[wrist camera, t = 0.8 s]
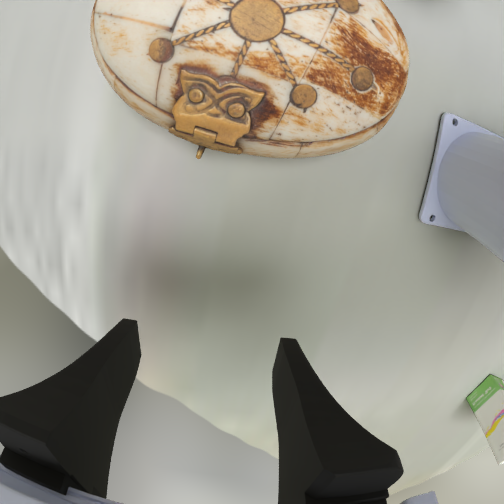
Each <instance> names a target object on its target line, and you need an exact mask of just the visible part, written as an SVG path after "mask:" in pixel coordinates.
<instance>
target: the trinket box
mask: <svg viewBox="0 0 504 504" xmlns="http://www.w3.org/2000/svg"><path fill="white" fill-rule="evenodd" d="M91 42H92V46H93V50H94V54H95V57H96V60H97V62H98V65H99V67H100V69H101V71H102V73H103V75H104V76H105V78H106V80H107V81H108V83H109V84H110V85H111V87H112V88H113V89H114V91H115V92H116V93H117V94H118V95H119V96H120V97H121V98H122V99H123V100H124V101H125V102H126V103H127V104H128V105H129V106H130V107H131V108H133V109H134V110H135V111H136V112H138V113H139V114H141V115H142V116H144V117H145V118H147V119H148V120H150V121H152V122H154V123H156V124H157V125H159V126H161V127H164V128H166V129H168V130H169V132H170V133H173V134H174V135H175V136H177V137H180V138H182V139H185V140H187V141H190V142H192V143H194V144H196V145H199V148H198V151H197V155H196V158H197V159H200V158H201V156H202V154H203V152H204V150H205V148H209V149H212V150H218V151H222V152H226V153H234V154H241V153H244V154H249V155H255V156H263V157H272V158H306V157H316V156H323V155H329V154H334V153H337V152H341V151H344V150H347V149H350V148H352V147H355V146H357V145H359V144H362V143H363V142H365V141H367V140H369V139H370V138H372V137H373V136H374V135H376V134H377V133H378V132H379V131H380V130H381V129H382V128H383V127H384V126H385V124H386V123H387V122H388V120H389V119H390V117H391V116H392V114H393V113H394V111H395V109H396V107H397V105H398V103H399V101H400V99H401V97H402V95H403V93H404V90H405V87H406V84H407V79H408V69H409V63H410V61H409V50H408V45H407V42H406V38H405V36H404V34H403V32H402V29H401V28H400V26H399V24H398V23H397V21H396V19H395V18H394V16H393V15H392V13H391V12H390V10H389V9H388V7H387V6H386V5H385V4H384V2H383V1H382V0H96V1H95V4H94V7H93V11H92V16H91Z"/></svg>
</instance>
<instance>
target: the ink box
mask: <svg viewBox="0 0 504 504" xmlns="http://www.w3.org/2000/svg"><path fill="white" fill-rule="evenodd" d="M466 399H467V401H468V403H469V404H470V406H471V408H472V410H473V412H474V414H475V416H476V418H477V420H478V422H479V424H480V426H481V428H482V430H483V432H484V434H485V436H486V438H487V440H488V442H489V444H490V447H491V449H492V451H493V453H494V456H495V458H496V460H497V462H498V465H500V464H504V380H502V379H499V378H497V377H495V376H493V375H489V376H488V377H487V378H486V379H485V380H484V381H483V382H482V383H481V384H480V385H479V386H478V387H477V388H476V389H475V390H474V391H473V392H472V393H471V394H470V395H469V396H468V397H467V398H466Z"/></svg>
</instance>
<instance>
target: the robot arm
mask: <svg viewBox="0 0 504 504" xmlns="http://www.w3.org/2000/svg"><path fill="white" fill-rule="evenodd" d="M453 119H454V120H455V124H454V125H453V123H452V121H453ZM431 215H433V217H432V219H430V216H431ZM419 219H420V220H421V221H422V222H423V223H425V224H430V225H435V226H440V227H445V228H449V229H454V230H459V231H463V232H467V233H468V234H470V235H471V236H472V237H473V238H475V239H476V240H477V241H479V242H480V243H481V244H482V245H484V246H485V247H486V248H487V249H489V250H490V251H491V252H492V253H494V254H495V255H496V256H497V257H498V258H500V259H501V260H502V261H503V262H504V138H503V137H501V136H499V135H497V134H495V133H493V132H491V131H489V130H487V129H485V128H483V127H481V126H478V125H476V124H474V123H472V122H470V121H468V120H465V119H463V118H461V117H459V116H456V115H454V114H451V113H444V114H443V115H442V117H441V123H440V129H439V134H438V139H437V144H436V149H435V154H434V158H433V163H432V167H431V171H430V176H429V180H428V184H427V188H426V192H425V195H424V199H423V203H422V206H421V210H420V213H419ZM429 219H430V220H429ZM140 358H141V349H140V342H139V334H138V325H137V321H136V320H130V319H122V320H121V321H120V322H119V323H118V324H117V325H116V326H115V327H114V328H113V329H111V330H110V331H109V332H108V333H107V334H106V335H105V336H104V337H103V338H102V339H101V340H100V341H98V342H97V343H96V344H95V345H94V346H93V347H92V348H91V349H89V350H88V351H87V352H86V353H84V354H83V355H82V356H81V357H80V358H78V359H77V360H76V361H74V362H73V363H72V364H70V365H69V366H67V367H66V368H64V369H63V370H61V371H60V372H58V373H56V374H55V375H53V376H51V377H49V378H47V379H45V380H44V381H42V382H40V383H38V384H36V385H33V386H31V387H29V388H26V389H24V390H22V391H19V392H16V393H13V394H10V395H6V396H3V397H0V442H1V443H2V445H3V446H4V447H5V448H4V450H3V452H2V454H1V455H0V504H122V503H119V502H115V501H111V500H108V499H106V495H107V485H108V476H109V469H110V462H111V456H112V451H113V446H114V440H115V436H116V432H117V427H118V423H119V419H120V417H121V414H122V411H123V409H124V406H125V403H126V401H127V398H128V396H129V393H130V390H131V388H132V385H133V383H134V380H135V377H136V374H137V371H138V367H139V363H140ZM272 391H273V400H274V408H275V415H276V423H277V431H278V440H279V495H278V504H387V501H386V498H388V497H389V493H388V488H389V487H390V486H391V485H393V484H394V483H395V482H396V481H397V480H398V479H399V478H400V477H401V476H402V475H403V472H404V470H403V467H402V464H401V460H400V458H399V455H398V453H397V451H396V450H395V449H393V448H392V447H390V446H389V445H387V444H385V443H384V442H382V441H381V440H379V439H378V438H376V437H375V436H374V435H372V434H371V433H370V432H368V431H367V430H366V429H364V428H363V427H362V426H361V425H360V424H359V423H358V422H356V421H355V420H354V419H353V418H352V417H351V416H350V415H349V414H348V413H347V412H346V411H345V410H344V409H343V408H342V407H341V406H340V405H339V404H338V402H337V401H336V400H335V399H334V398H333V396H332V395H331V394H330V393H329V391H328V390H327V389H326V387H325V386H324V385H323V383H322V382H321V380H320V379H319V377H318V376H317V374H316V373H315V371H314V370H313V368H312V367H311V365H310V363H309V362H308V360H307V358H306V357H305V355H304V353H303V351H302V349H301V347H300V345H299V344H298V342H297V340H296V339H291V338H281V339H280V343H279V347H278V351H277V355H276V359H275V363H274V367H273V371H272ZM400 504H438V501H437V498H436V494H435V492H434V491H431V492H428V493H425V494H421V495H418V496H414V497H411V498H409V499H406V500H405V501H403V502H402V503H400Z"/></svg>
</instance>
